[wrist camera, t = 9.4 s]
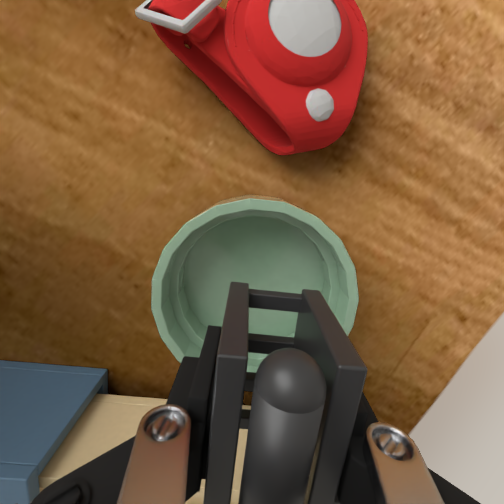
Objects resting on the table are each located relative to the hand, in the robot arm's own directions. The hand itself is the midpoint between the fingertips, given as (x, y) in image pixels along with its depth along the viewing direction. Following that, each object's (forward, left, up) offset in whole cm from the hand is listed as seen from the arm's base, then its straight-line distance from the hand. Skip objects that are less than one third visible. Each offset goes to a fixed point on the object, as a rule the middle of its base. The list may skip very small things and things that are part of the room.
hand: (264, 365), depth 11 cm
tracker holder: (-15, -1, -10) cm, 18 cm away
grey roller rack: (0, 0, 0) cm, 0 cm away
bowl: (0, 0, -10) cm, 10 cm away
